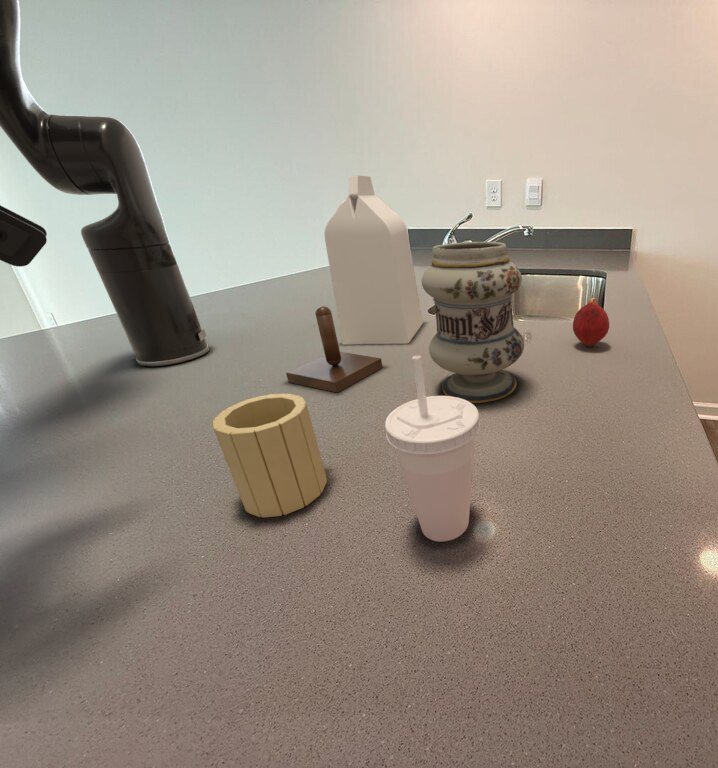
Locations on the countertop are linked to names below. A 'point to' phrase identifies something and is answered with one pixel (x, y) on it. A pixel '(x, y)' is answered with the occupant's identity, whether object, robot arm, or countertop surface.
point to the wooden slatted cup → (271, 453)
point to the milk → (372, 270)
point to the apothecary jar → (474, 318)
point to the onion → (591, 323)
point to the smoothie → (436, 457)
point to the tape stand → (333, 361)
